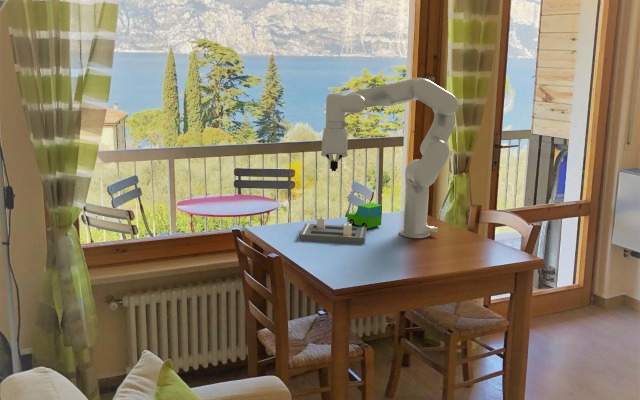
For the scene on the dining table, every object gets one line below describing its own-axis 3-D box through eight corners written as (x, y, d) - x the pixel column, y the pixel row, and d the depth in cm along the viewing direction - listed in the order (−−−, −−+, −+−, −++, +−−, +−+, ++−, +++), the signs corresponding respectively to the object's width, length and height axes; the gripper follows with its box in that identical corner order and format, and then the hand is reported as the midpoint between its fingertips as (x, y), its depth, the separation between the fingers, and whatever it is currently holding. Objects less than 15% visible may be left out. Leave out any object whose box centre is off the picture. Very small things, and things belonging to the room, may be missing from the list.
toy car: (360, 220, 286) (361, 199, 284) (382, 227, 277) (383, 204, 274) (344, 224, 279) (345, 202, 277) (366, 231, 270) (367, 208, 268)
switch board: (366, 232, 267) (366, 226, 266) (364, 244, 252) (364, 237, 251) (305, 229, 270) (305, 223, 269) (299, 240, 255) (299, 233, 254)
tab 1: (324, 229, 266) (325, 216, 265) (324, 231, 263) (324, 218, 262) (317, 228, 267) (318, 216, 265) (316, 230, 264) (317, 218, 263)
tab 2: (351, 236, 257) (351, 223, 256) (350, 238, 254) (351, 225, 253) (343, 235, 258) (344, 223, 256) (343, 238, 255) (343, 225, 253)
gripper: (354, 124, 255) (353, 169, 259) (317, 123, 257) (316, 168, 261) (353, 127, 248) (351, 173, 252) (315, 125, 249) (314, 171, 254)
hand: (333, 170), depth 257 cm, fingers closed
